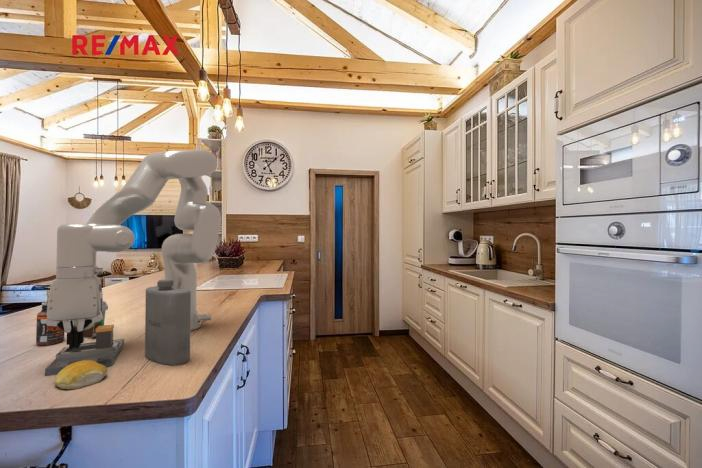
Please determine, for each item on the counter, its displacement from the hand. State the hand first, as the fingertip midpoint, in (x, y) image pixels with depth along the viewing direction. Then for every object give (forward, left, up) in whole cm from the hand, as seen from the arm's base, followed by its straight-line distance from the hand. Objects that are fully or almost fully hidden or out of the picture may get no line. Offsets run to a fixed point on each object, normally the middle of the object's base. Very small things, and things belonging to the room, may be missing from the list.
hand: (75, 346), depth 79 cm
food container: (+1, -23, -4) cm, 23 cm away
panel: (-3, 0, -3) cm, 4 cm away
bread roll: (-5, +14, -4) cm, 16 cm away
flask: (-20, +8, -4) cm, 22 cm away
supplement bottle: (+10, -19, -4) cm, 22 cm away
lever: (-6, 0, -2) cm, 6 cm away
